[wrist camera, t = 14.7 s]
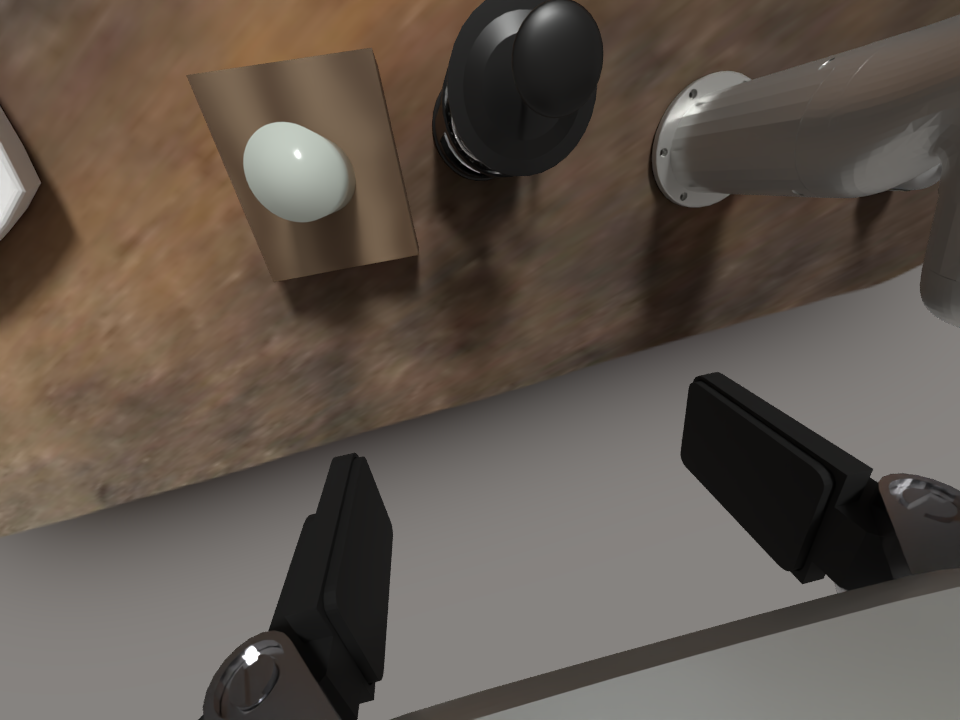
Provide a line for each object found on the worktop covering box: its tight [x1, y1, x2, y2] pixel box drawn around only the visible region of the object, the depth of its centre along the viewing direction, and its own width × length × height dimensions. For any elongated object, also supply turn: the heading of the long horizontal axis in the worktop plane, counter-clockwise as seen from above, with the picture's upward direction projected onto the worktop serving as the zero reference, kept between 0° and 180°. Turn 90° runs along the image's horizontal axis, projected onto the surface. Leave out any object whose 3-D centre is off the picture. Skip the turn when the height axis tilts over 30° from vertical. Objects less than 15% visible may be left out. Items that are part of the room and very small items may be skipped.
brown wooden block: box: [187, 48, 419, 282], centre depth 34 cm, size 14×16×5 cm
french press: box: [432, 0, 603, 181], centre depth 26 cm, size 12×9×23 cm
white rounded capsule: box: [243, 122, 356, 222], centre depth 28 cm, size 6×6×8 cm
